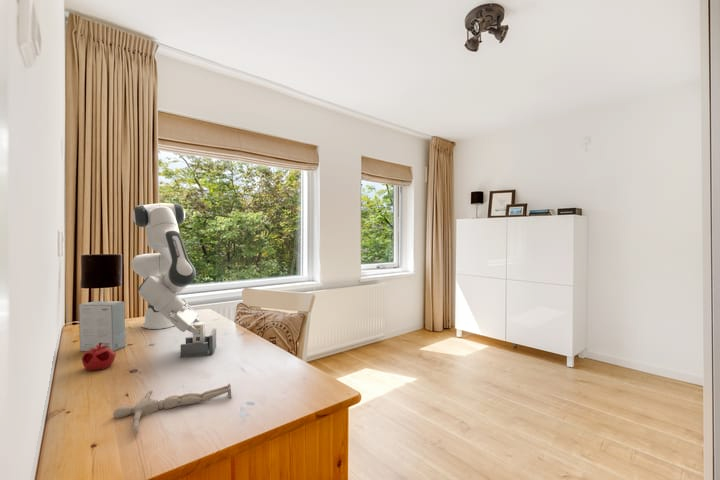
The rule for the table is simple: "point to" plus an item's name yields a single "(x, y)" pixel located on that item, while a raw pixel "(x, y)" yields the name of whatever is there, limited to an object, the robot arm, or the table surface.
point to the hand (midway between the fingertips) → (200, 330)
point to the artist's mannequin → (167, 403)
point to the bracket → (199, 346)
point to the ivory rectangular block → (201, 336)
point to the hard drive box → (102, 325)
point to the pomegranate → (98, 358)
